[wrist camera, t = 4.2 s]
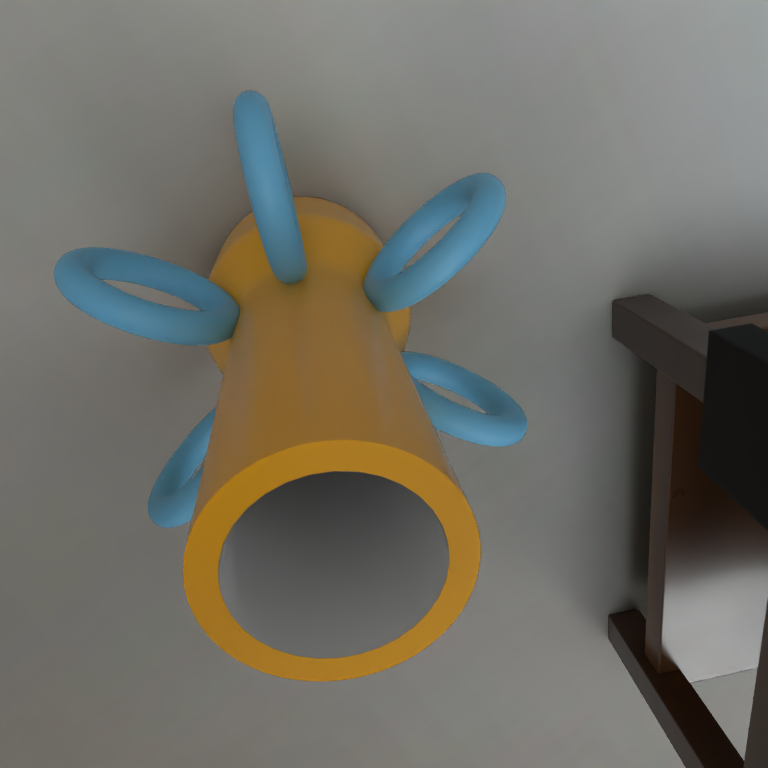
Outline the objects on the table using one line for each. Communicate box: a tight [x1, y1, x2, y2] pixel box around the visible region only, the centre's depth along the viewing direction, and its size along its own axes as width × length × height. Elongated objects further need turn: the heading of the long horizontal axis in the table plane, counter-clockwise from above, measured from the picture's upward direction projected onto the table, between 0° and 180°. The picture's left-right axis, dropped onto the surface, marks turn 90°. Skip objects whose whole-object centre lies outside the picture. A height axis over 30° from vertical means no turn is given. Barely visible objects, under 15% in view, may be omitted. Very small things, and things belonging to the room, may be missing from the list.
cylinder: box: [54, 91, 527, 681], centre depth 16 cm, size 12×10×15 cm
